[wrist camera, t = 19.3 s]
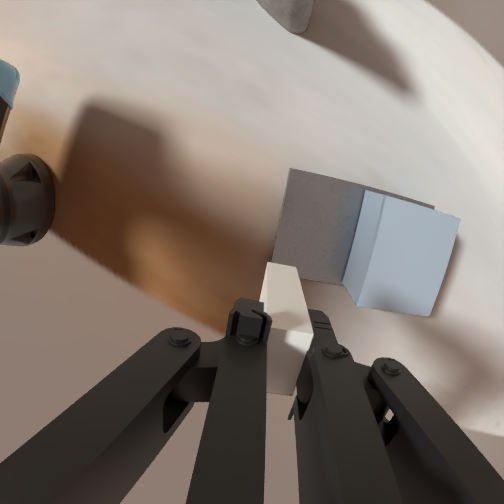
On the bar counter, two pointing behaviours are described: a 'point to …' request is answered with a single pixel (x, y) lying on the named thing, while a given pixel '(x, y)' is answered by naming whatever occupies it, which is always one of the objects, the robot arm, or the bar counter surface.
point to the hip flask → (290, 13)
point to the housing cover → (399, 255)
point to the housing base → (320, 224)
